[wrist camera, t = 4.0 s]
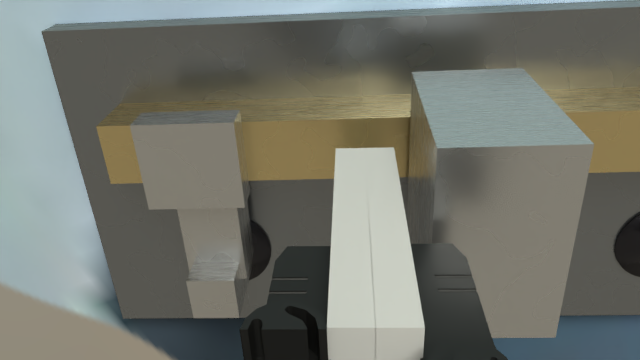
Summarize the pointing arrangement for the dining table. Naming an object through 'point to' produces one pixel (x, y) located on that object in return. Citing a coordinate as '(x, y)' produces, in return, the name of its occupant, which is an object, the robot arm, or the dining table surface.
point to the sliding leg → (498, 189)
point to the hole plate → (333, 81)
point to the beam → (290, 162)
